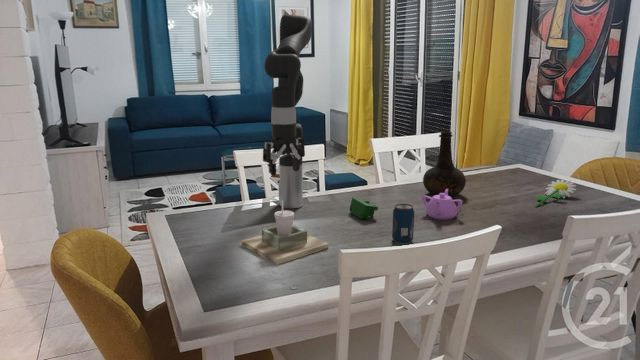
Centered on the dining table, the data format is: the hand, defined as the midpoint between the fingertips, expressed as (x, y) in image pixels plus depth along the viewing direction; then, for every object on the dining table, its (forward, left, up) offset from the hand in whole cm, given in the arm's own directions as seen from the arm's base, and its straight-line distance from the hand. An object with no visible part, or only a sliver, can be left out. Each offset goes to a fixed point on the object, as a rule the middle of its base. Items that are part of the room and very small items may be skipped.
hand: (284, 172), depth 159 cm
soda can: (+22, +32, -24) cm, 46 cm away
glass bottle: (-3, +87, -24) cm, 90 cm away
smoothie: (+1, -1, -23) cm, 23 cm away
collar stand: (+1, -1, -24) cm, 24 cm away
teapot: (+14, +63, -24) cm, 69 cm away
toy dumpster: (-6, +41, -25) cm, 48 cm away
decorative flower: (+30, +115, -25) cm, 122 cm away
